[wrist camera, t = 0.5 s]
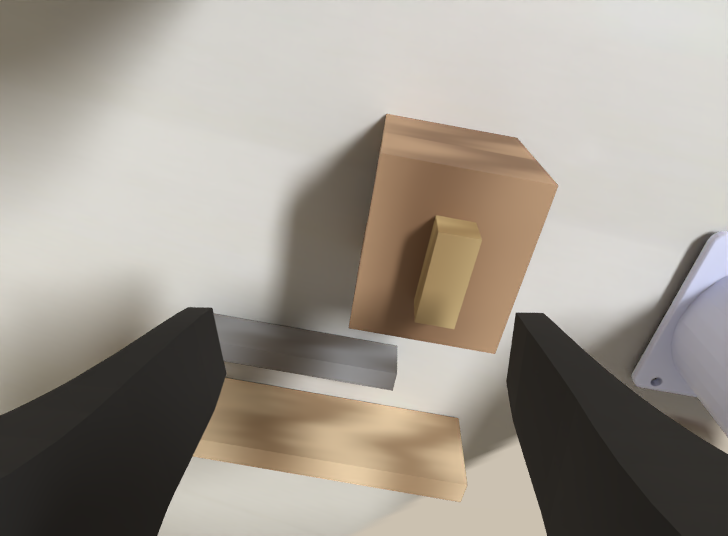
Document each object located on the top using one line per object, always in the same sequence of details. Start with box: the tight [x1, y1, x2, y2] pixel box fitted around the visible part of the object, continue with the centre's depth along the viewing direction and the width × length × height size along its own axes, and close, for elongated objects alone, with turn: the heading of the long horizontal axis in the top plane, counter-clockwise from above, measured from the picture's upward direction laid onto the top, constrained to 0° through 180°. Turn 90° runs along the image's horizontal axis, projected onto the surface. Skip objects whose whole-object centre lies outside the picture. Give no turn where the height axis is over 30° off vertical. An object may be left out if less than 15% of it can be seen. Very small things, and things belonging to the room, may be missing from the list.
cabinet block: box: [349, 114, 558, 354], centre depth 17 cm, size 5×6×7 cm
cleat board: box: [193, 314, 467, 502], centre depth 23 cm, size 18×5×4 cm, turn 81°
